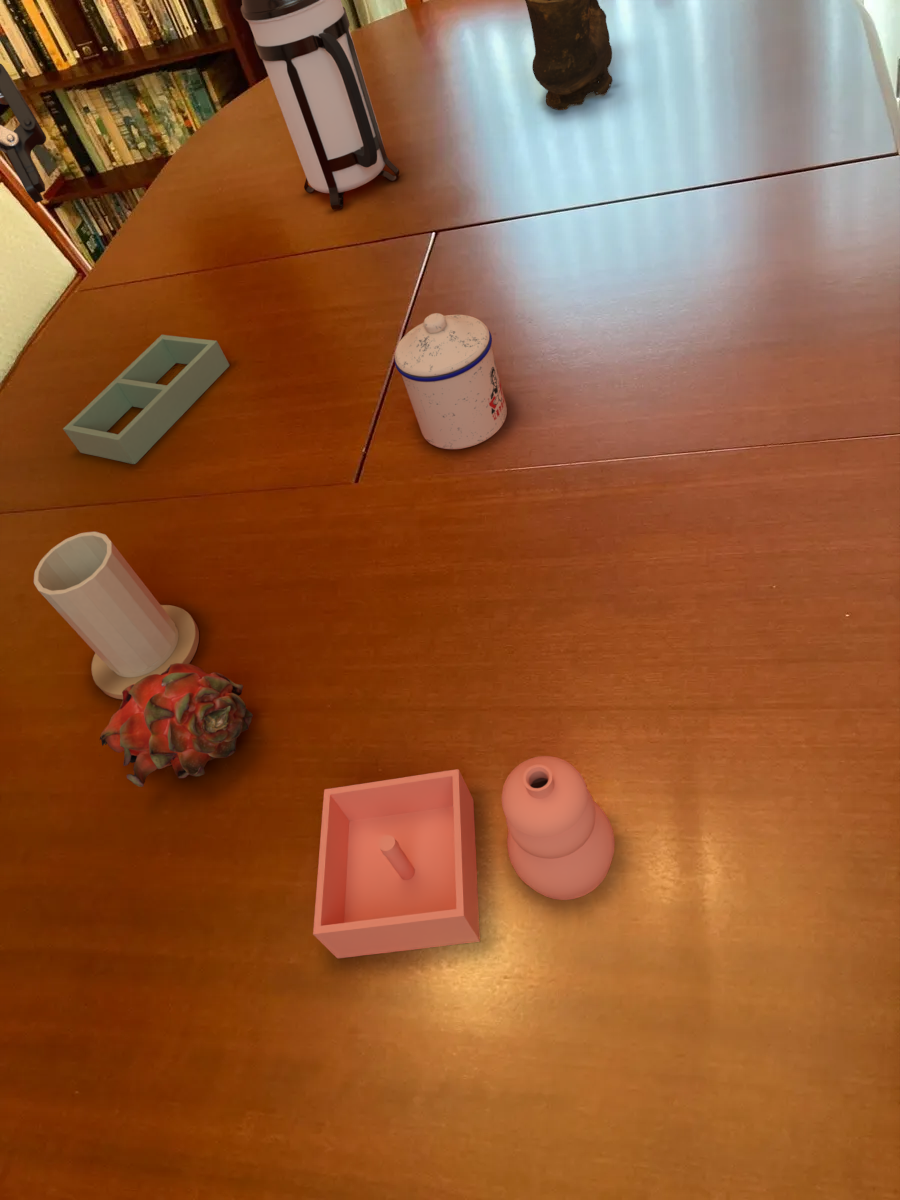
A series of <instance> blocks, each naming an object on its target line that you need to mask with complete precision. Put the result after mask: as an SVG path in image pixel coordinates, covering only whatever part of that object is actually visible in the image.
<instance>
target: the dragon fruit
mask: <svg viewBox="0 0 900 1200" xmlns="http://www.w3.org/2000/svg"><path fill="white" fill-rule="evenodd" d="M243 688H244V685H243V684H241V683H240V684H239V683H235V682H234V681H232V680H231V679H229V678H228V677H227V676H225V675H224V674H222V673H219V672H211V673H206V672H205V671H204V669H202V668H201V667H199V666H197V665H194V664H192V663H189V664H184V663H175V664H171V665H170V667H169V668H168V669H167V670H166V671H165V672H163V673H162V674H161V675H159V674H153V675H149V676H146V677H144V678H143V679H141V680H140V681H138V682H137V683H135V684H132V685H130V686H129V687H127V688H125V689H124V690H123V692H122V694H123V700H122V699H121V700H122V701H121V702H120V705H119V708H118V709H117V711H115V713H113V714H112V715H111V717H110V719H109V722H108V724H107V726H105V727H104V729H103V730H102V732H101V734H100V736H99V743H100V742H101V747H103V746H104V745H105V746H108V747H109V748H110V749H111V750H112V751H114V752H116V753H122V752H123V753H124V756H123V757H124V758H123V763H122V764H123V765H122V766H123V767H125V766H129V764H130V763H131V764H133V774H131V773H127V774H126V779H127V780H129V782H131V783H132V784H134V785H135V786H137V787H139V788H141V787H142V788H143V787H144V786H145V783H146V780H147V778H148V776H149V775H150V774H152V773H153V772H155V771H156V770H160V769H161V770H162V769H164V768H166V767H169V766H172V769H173V771H174V773H175V775H176V777H177V778H178V779H185V778H187V777H188V776H192V777H201V776H203V775H205V774H206V772H205V767H206V765H207V763H208V762H209V761H212V760H215V759H223V758H228V757H231V756H232V755H233V754H235V753H236V751H237V746H236V744H237V738H238V737H239V736H240V735H241V733H243V732H246V731H247V730H249V728H250V725H251V723H252V719H253V717H254V714H253V713H252V712H251V711H250V710H249V709H248V708H247V707H246V703H245V701H244V700H243V699H242V698H241V697H240V696H241V695H242V693H243ZM98 756H99V757H100V756H101V754H99V755H98Z"/></svg>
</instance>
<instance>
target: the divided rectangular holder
mask: <svg viewBox="0 0 900 1200" xmlns="http://www.w3.org/2000/svg"><path fill="white" fill-rule="evenodd" d="M176 364H180V365H185V367H184V368H182V370H181V371H180V372H179V373H178V374H176V376H175V377H174V378H173V379H172V380H171V381H170V382H169V383H168V384H167V385H166V384H161V383H158V381H159V380H161V378H163V377H164V376H165V375H166V374H167V373H168V372H169V371H170V370H171V369H172V368H173V367H174V366H175V365H176ZM230 366H231V365H230V363H229V361H228V359H227V358H226V356H225V353H224V351H223V350H222V348H221V345H220V343H219V342H218V340H216V339H215V340H213V339H205V338H194V337H186V336H177V335H168V334H161V335H160V336H159V337H157V338H156V339H155V340H154V342H152V343H151V344H150V345H149V346H148V347H147V348H146V349H145V350H144V351H142V353H141V354H140V355H139V356H138V357H137V358H136V359H134V360H133V361H132V362H131V363H130V364H129V365H128V366H127V367H126V368H125V369H124V370H123V371H122V372H121V373H119V375H118V376H116V378H115V379H113V381H112V382H110V383H109V385H107V386H106V387H105V388H104V389H103V390H102V391H100V393H99V394H98V395H97V396H96V397H95V398H94V399H93V400H91V401H90V403H88V405H86V406H85V407H84V408H83V409H82V410H81V411H80V412H79V413H78V414H77V415H76V416H74V418H72V420H70V422H68V423H67V424H66V425H65V426H64V427H63V428H62V430H63V431H64V433H65V434H66V435H67V437H68V438H69V439H70V441H71V442H72V443H73V445H74V446H75V448H76V449H77V450H78V452H79V453H80V454H85V455H89V456H94V457H99V458H103V459H108V460H112V461H117V462H122V463H125V464H126V463H127V464H130V465H136V464H137V463H138V462H139V461H140V460H141V459H142V458H143V457H144V456H145V455H146V454H147V453H148V452H149V451H150V450H151V448H153V446H154V445H155V444H157V442H158V441H159V440H160V439H162V437H163V436H164V435H165V434H166V433H167V432H168V431H169V430H170V429H171V428H172V427H173V425H175V424H176V423H177V421H178V420H179V419H181V418H182V417H183V415H184V414H185V413H186V412H187V411H188V410H189V409H190V408H191V407H192V406H193V405H194V404H195V403H196V402H197V401H198V400H199V398H201V396H202V395H203V394H204V393H205V392H206V391H207V390H208V389H209V388H210V387H211V386H212V385H213V384H214V383H215V382H216V381H217V380H218V379H219V378H220V377H221V375H223V374H224V372H225V371H226V370H228V369H229V367H230ZM133 407H134V408H138V409H142V410H141V411H140V412H139V413H138V414H137V415H136V416H135V417H133V419H132V420H131V421H130V422H128V424H127V425H126V426H125V427H123V429H122V430H121V431H120V432H119V433H118V434H117V433H114V432H109V430H110V429H111V428H113V426H114V425H115V424H116V423H117V422H119V420H120V419H121V418H122V417H123V416H124V415H125V414H126V413H127V412H128V411H129V410H130V409H131V408H133Z"/></svg>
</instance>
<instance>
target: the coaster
mask: <svg viewBox="0 0 900 1200" xmlns="http://www.w3.org/2000/svg"><path fill="white" fill-rule="evenodd" d="M160 605H161V606H162V608H163V609H164V610H165V612H166V613H167V614H168V615H169V617H170V618H171V619H172V621H173V622H174V623H175V625H176V626H177V629H178V633H179V638H178V642H177V645H176V648H175V650H174V651H173V653H172V654H171V656H170V657H169V658H168V659H167V660H166V661H165V662H164V663H163V664H162V665H161V666H159V667H158V668H157V669H155V670H153V671H152V672H150V673H147V674H145V675H142V676H139V677H133V678H127V677H122V676H119V675H117V674H116V673H114V672H113V671H112V670H111V669H110V668H109V667H108V666H107V665H106V664H105V663H104V662H103V661H102V659H101V658H100V657H99V656H98V655H97V654H96V653H95V652H94V655H93V657H92V661H91V675H92V679H93V681H94V684H95V685H96V687H98V689H100V690H101V691H102V693H104V694H105V695H107V696H109V697H110V698H114V699H116V700H123V694H122V692H123V690H124V689H125V688H127V687H129V686H130V685H132V684H135V683H137V682H138V681H140V680H141V679H143V678H144V677H146V676H149V675H153V674H159V675H161V674H162V673H163V672H165V671H166V670H167V669H168V668H169V667H170V665H171V664H175V663H184V664H191V662H192V661H193V659H194V657H195V655H196V652H197V649H198V646H199V643H200V632H199V631H200V630H199V627H198V625H197V622H196V621H195V619H194V618H193V616H192V615H191V614H190V613H189V612H188V611H187V610H185V609H183V608H182V607H180V606H175V605H171V604H160Z"/></svg>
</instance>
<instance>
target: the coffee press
mask: <svg viewBox="0 0 900 1200" xmlns="http://www.w3.org/2000/svg"><path fill="white" fill-rule="evenodd" d="M241 4H242V5H241V6H240V12H241V15H242V17H243V19H245V21H247V23H248V25H249V27H250V30H251V32H252V35H253V43H254V46H255V48H256V51H257V54H258V57H259V59H260V60H262V63H263V65H264V68H265V70H266V71H265V72H266V73H267V77H268V79H269V82H270V84H271V87H272V90H273V92H274V95H275V98H276V100H277V103H278V107H279V109H280V111H281V113H282V116H283V119H284V122H285V124H286V127H287V130H288V132H289V136H290V138H291V140H292V141H291V142H292V143H293V145H294V146H293V147H294V149H295V151H296V153H297V156H298V159H299V162H300V165H301V167H302V170H303V172H304V175H305V181H304V185H303V186H304V187H303V189H304V191H305V192H306V193H308V194H313V193H314V192H315V191H317V192H320V193H324V194H328V195H329V205H330V208H331V210H333V211H336V210H343V209H344V195H345V192H348V191H352V190H355V189H357V188H359V187H362V186H364V185H366V184H367V183H369V182H371V181H372V180H374V179H375V178H376V177H378V176H380V177H383V178H385V179H387V180H388V181H389V182H396V181H397V180H398V178H399V176H400V169H399V168H398V167H397V166H396V165H395V164H394V163H393V162H392V161H391V160H390V159H389V157H388V155H387V152H386V148H385V145H384V142H383V138H382V135H381V131H380V127H379V123H378V121H377V117H376V113H375V111H374V108H373V104H372V100H371V97H370V93H369V90H368V87H367V83H366V80H365V77H364V74H363V70H362V67H361V63H360V60H359V57H358V53H357V51H356V47H355V43H354V40H353V37H352V33H351V30H350V25H351V24H350V21H349V17H348V13H347V11H346V8H345V7H344V6H343V3H342V0H241ZM385 166H387V168H388V169H390V170H391V172H393V173H394V175H392V174H391V173H390V172H388V171H386V170H383V169H384V168H385Z"/></svg>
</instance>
